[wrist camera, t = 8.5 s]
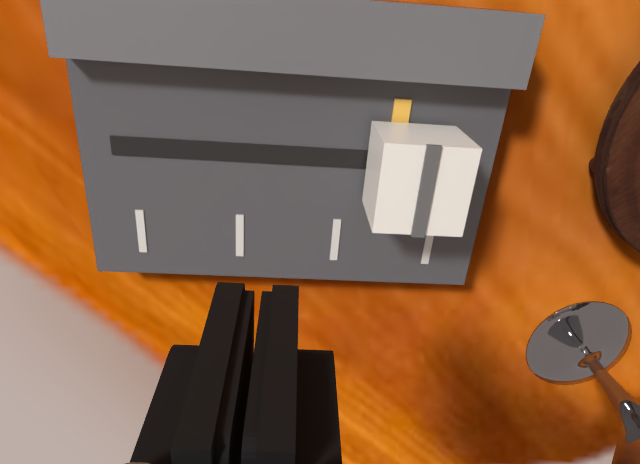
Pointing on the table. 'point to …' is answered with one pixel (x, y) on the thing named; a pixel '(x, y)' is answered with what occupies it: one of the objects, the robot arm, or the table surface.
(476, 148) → the fader knob
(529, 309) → the table surface
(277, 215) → the console
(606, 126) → the scroll
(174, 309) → the table surface
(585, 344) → the wine glass
